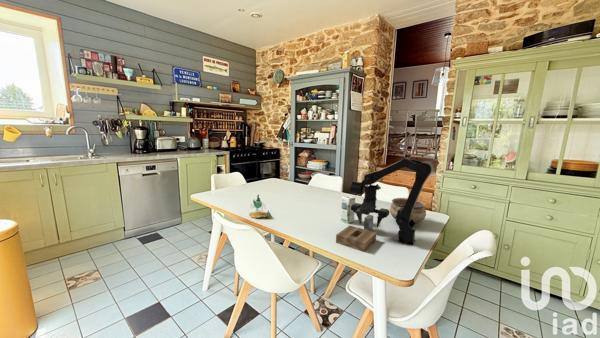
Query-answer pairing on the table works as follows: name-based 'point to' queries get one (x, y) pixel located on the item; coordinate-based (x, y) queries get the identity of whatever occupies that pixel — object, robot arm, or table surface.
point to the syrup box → (347, 209)
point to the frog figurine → (258, 214)
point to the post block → (356, 238)
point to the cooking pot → (418, 209)
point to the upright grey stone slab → (368, 222)
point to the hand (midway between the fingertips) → (368, 225)
